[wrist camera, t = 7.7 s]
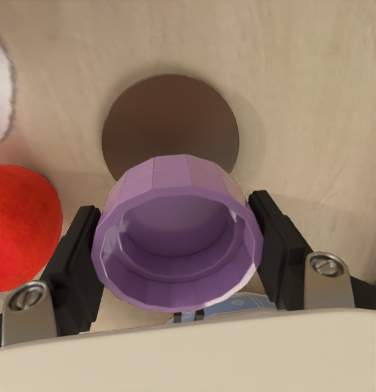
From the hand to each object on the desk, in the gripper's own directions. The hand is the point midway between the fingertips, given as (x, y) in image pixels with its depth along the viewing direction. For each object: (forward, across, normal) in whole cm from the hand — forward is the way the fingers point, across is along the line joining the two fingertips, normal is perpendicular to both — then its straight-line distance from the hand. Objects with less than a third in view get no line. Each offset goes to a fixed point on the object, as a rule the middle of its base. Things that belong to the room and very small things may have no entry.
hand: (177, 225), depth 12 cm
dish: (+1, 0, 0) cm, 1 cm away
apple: (+11, +13, +3) cm, 17 cm away
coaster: (+10, 0, 0) cm, 10 cm away
